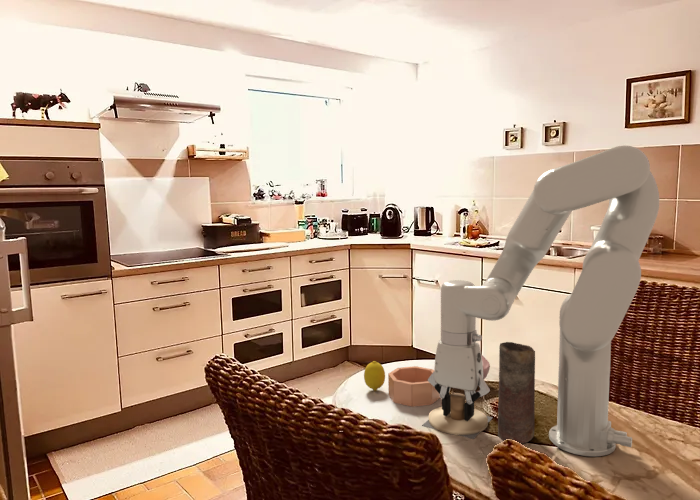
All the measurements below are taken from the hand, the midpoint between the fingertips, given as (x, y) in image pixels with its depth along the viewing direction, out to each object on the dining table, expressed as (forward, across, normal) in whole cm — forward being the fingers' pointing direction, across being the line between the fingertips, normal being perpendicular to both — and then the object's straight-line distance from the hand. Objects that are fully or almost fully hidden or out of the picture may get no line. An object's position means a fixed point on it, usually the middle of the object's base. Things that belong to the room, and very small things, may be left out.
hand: (457, 415), depth 119 cm
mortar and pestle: (+2, +7, -23) cm, 24 cm away
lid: (+1, 0, 0) cm, 1 cm away
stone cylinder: (+2, -13, 0) cm, 13 cm away
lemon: (+2, +26, -7) cm, 27 cm away
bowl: (+2, +15, -8) cm, 17 cm away
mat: (+2, 0, 0) cm, 2 cm away
